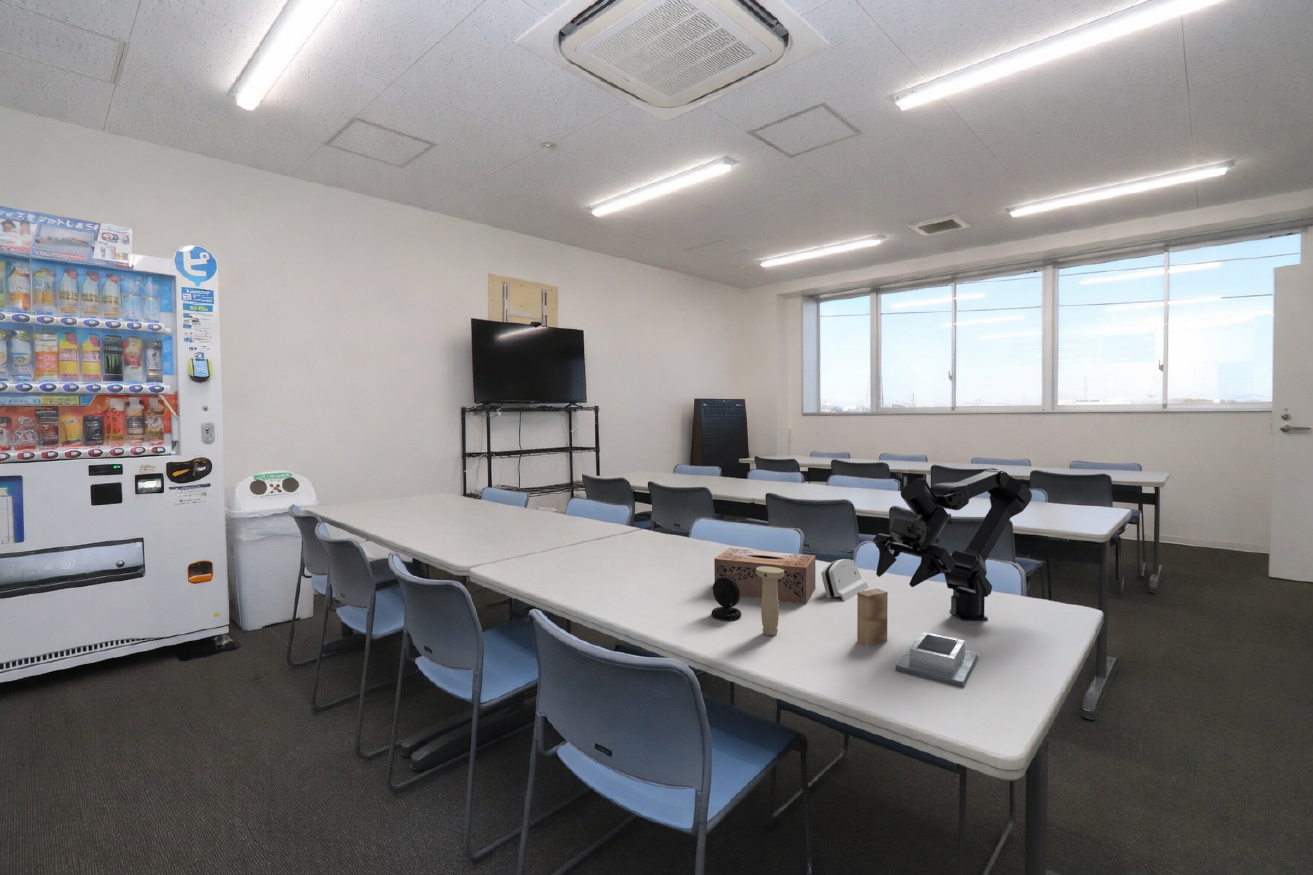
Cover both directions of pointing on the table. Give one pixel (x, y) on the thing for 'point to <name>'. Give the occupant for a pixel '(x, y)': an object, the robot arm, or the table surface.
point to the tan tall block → (872, 616)
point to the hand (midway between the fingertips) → (893, 580)
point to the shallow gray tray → (938, 659)
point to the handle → (770, 598)
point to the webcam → (726, 599)
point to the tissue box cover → (744, 563)
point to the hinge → (842, 579)
